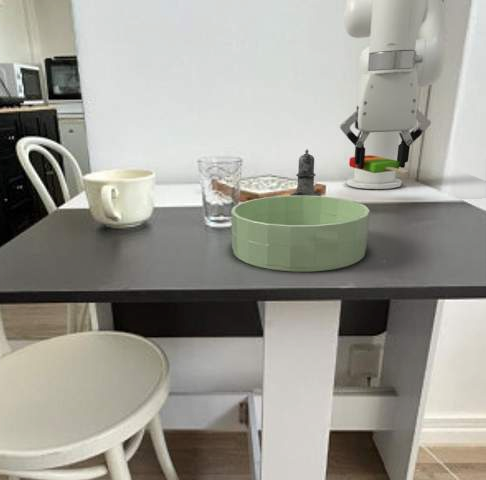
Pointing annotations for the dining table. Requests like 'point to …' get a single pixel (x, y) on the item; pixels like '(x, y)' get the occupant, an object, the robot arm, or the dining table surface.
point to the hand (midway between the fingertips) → (380, 166)
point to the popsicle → (378, 164)
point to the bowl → (300, 232)
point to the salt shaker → (306, 176)
